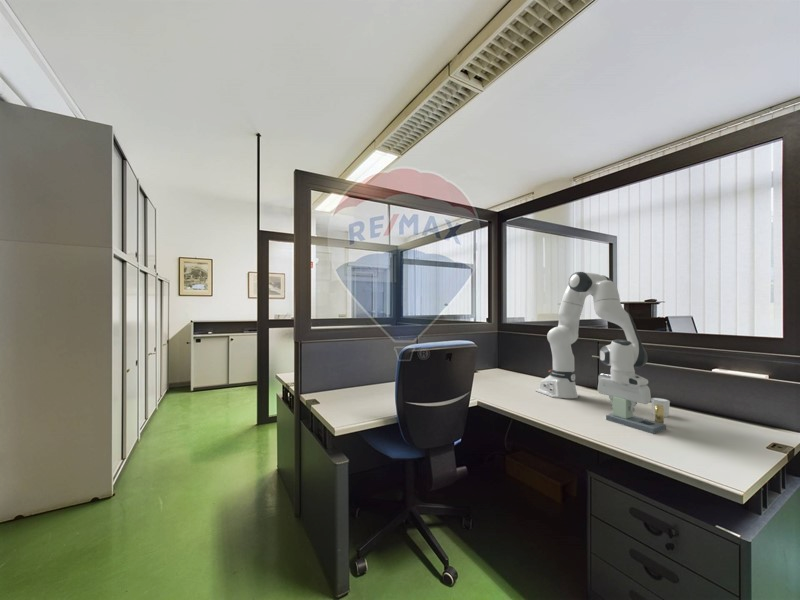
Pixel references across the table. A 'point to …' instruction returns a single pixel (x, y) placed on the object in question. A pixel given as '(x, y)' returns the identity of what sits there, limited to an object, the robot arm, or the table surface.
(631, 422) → the pin board
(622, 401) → the block
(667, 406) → the shot glass
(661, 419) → the pin
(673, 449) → the table surface
